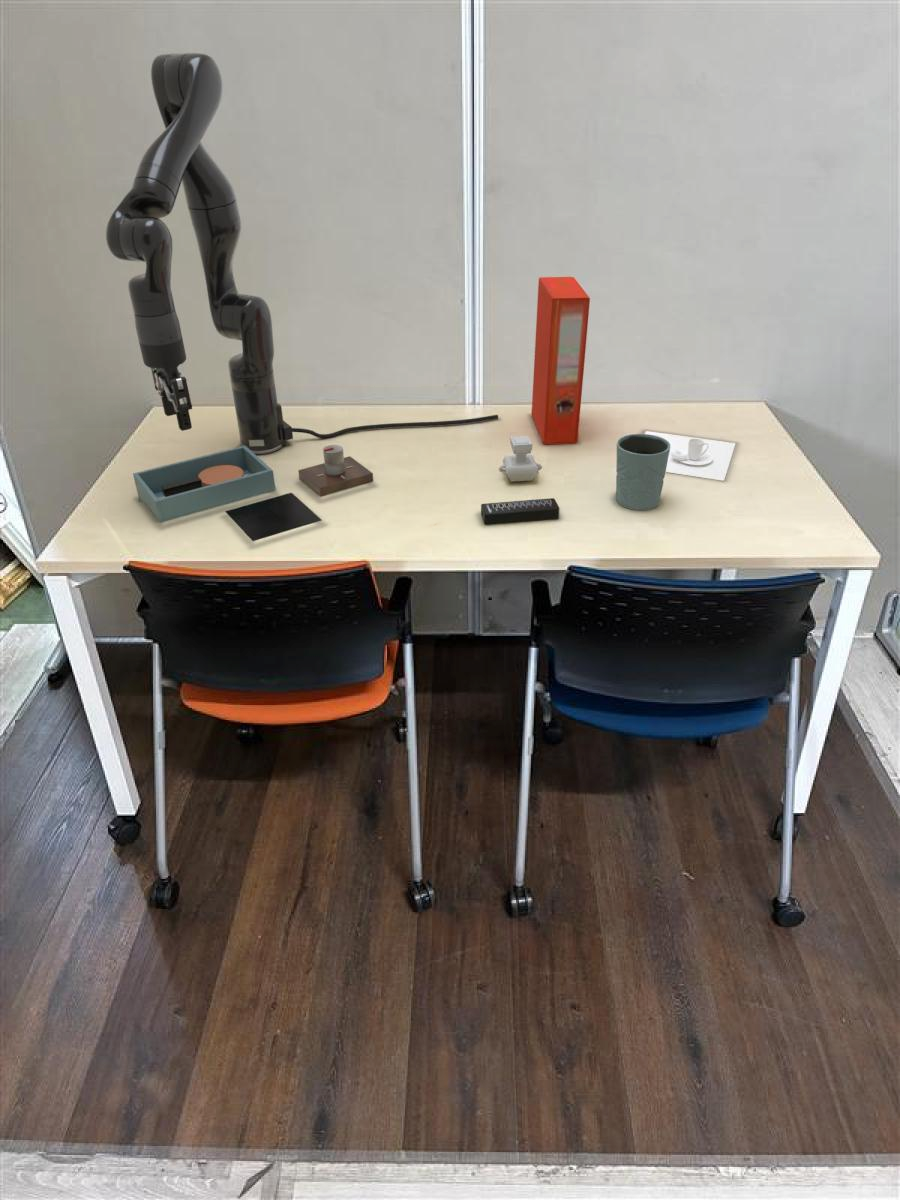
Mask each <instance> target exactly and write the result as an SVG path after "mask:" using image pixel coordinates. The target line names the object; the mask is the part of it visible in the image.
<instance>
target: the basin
mask: <svg viewBox="0 0 900 1200" xmlns="http://www.w3.org/2000/svg"><path fill="white" fill-rule="evenodd" d="M219 465H233V466H237V467H239V468H241V469H242V470H243V473H244V476H243V477H239V478H235V479H231V480H228V481H224V482H220V483H216V484H213V485H209V486H205V487H201V488H198V489H194V490H190V491H186V492H183V493H179V494H175V495H171V496H168V497H165V496H164V495H163V492H162V487H161V486H164V485H168V484H171V483H175V482H179V481H183V480H187V479H191V478H194V477H198V475H199V473H200V472H202V471H203V470H205V469H207V468H210V467H214V466H219ZM132 476H133V480H134V484H135V488H136V493H137V496H138V500H139V501H140V502H141V503H144V504H145V505H146V507H147V508H148V509H149V510H150V512H151V513H152V514H153V515H154V517H155V518H156V519H157V520H158V522H159V523H164V522H167V521H171V520H175V519H178V518H181V517H185V516H190V515H192V514H197V513H199V512H204V511H207V510H210V509H213V508H217V507H222V506H225V505H228V504H233V503H235V502H239V501H244V500H246V499H249V498H253V497H258V496H261V495H265V494H267V493H271V492H275V491H276V490H277V488H276V483H275V476H274V470H273V469H272V468H271V467H270V466H269V465H268V464H267V463H266V462H264V461H263V459H261V458H260V457H259V456H258V455H257V454H254V453H253V452H252V451H251V450H250V449H248V448H247V447H246V446H241V445H240V446H237V447H233V448H229V449H226V450H221V451H218V452H213V453H209V454H206V455H201V456H196V457H193V458H189V459H185V460H181V461H178V462H173V463H170V464H165V465H161V466H157V467H154V468H149V469H145V470H141V471H137V472H133V473H132Z"/></svg>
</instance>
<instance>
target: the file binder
mask: <svg viewBox="0 0 900 1200" xmlns="http://www.w3.org/2000/svg"><path fill="white" fill-rule="evenodd" d="M536 302H537V303H536V304H537V305H536V322H535V323H536V324H535V343H534V345H535V346H534V360H533V362H534V363H533V378H532V379H533V380H532V398H531V399H532V400H531V417H532V419H533V422H534V424H535V426H536V429H537V432H538V434H539V436H540V439H541V442H542V444H543V445H569V444H571V445H572V444H578V441H579V430H580V428H579V427H580V420H581V419H580V418H581V407H582V396H583V394H582V393H583V385H584V373H585V372H584V371H585V362H586V361H585V359H586V348H587V339H588V338H587V337H588V326H589V315H590V302H591V297H590V296H589V294H588V293H587V292H586V291H585V289H584V288H583V287H582V286H581V284H580V283H579V282H578V280H577V279H576V278H575V277H574V276H544V277H543V276H541V277H540V276H539V277H538V287H537V301H536Z"/></svg>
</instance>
